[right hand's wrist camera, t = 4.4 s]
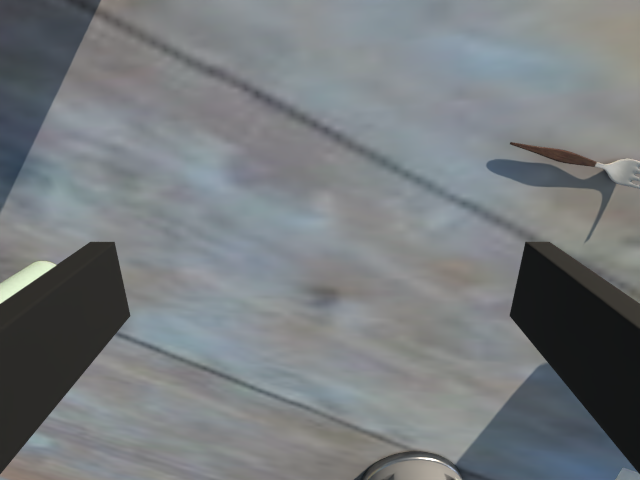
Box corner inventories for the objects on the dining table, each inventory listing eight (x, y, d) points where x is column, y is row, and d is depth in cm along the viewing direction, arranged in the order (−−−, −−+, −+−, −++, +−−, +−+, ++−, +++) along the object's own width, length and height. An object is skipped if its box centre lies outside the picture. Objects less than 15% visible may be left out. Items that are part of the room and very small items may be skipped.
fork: (513, 128, 38) (523, 131, 36) (659, 166, 39) (676, 170, 37) (502, 155, 39) (511, 158, 37) (646, 190, 40) (661, 195, 38)
